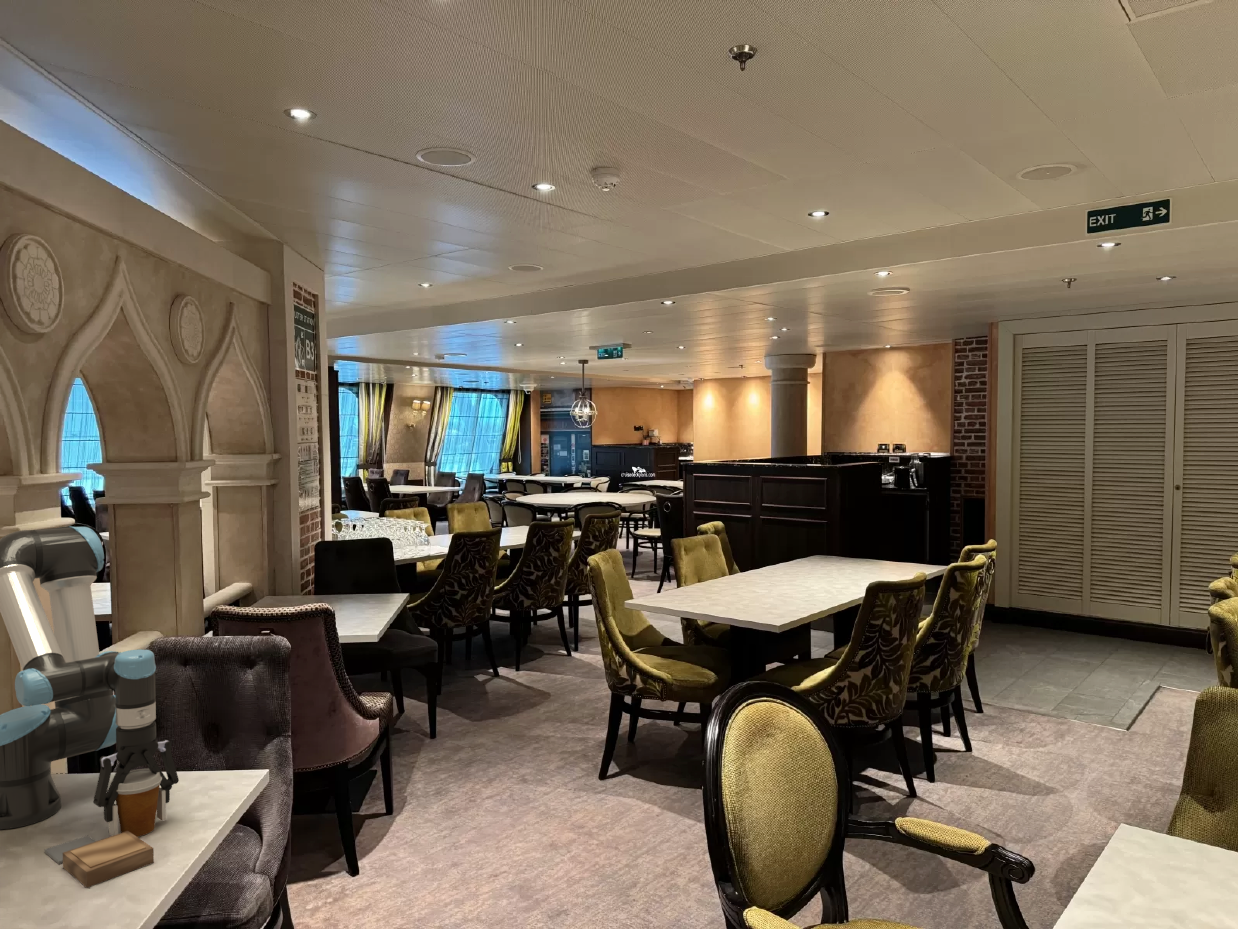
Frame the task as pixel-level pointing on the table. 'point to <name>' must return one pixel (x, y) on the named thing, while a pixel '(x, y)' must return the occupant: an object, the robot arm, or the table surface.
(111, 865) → the walnut base
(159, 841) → the table surface
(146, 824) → the disposable coffee cup
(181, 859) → the table surface
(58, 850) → the slate coaster
